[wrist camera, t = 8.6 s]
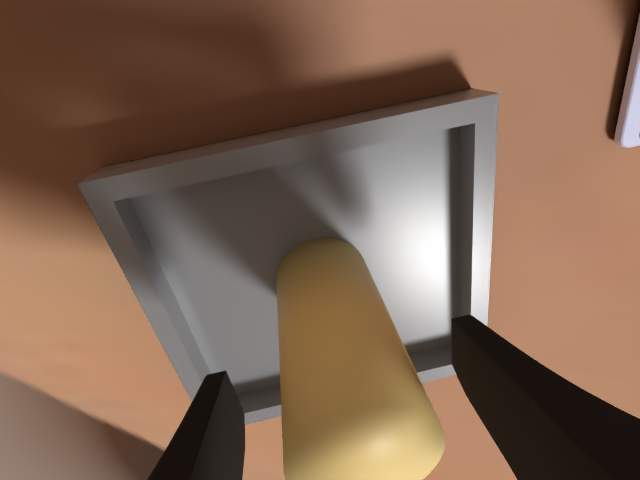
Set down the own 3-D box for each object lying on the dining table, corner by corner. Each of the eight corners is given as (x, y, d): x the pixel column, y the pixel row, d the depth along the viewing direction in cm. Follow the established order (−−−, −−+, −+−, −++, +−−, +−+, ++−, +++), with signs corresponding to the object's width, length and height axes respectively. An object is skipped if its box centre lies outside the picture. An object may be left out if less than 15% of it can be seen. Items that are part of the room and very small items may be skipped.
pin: (361, 228, 15) (444, 385, 8) (371, 304, 17) (446, 484, 10) (265, 249, 15) (265, 427, 8) (287, 323, 17) (301, 519, 10)
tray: (472, 88, 14) (499, 93, 12) (467, 342, 20) (485, 367, 18) (99, 167, 13) (77, 183, 12) (213, 402, 19) (208, 433, 18)
